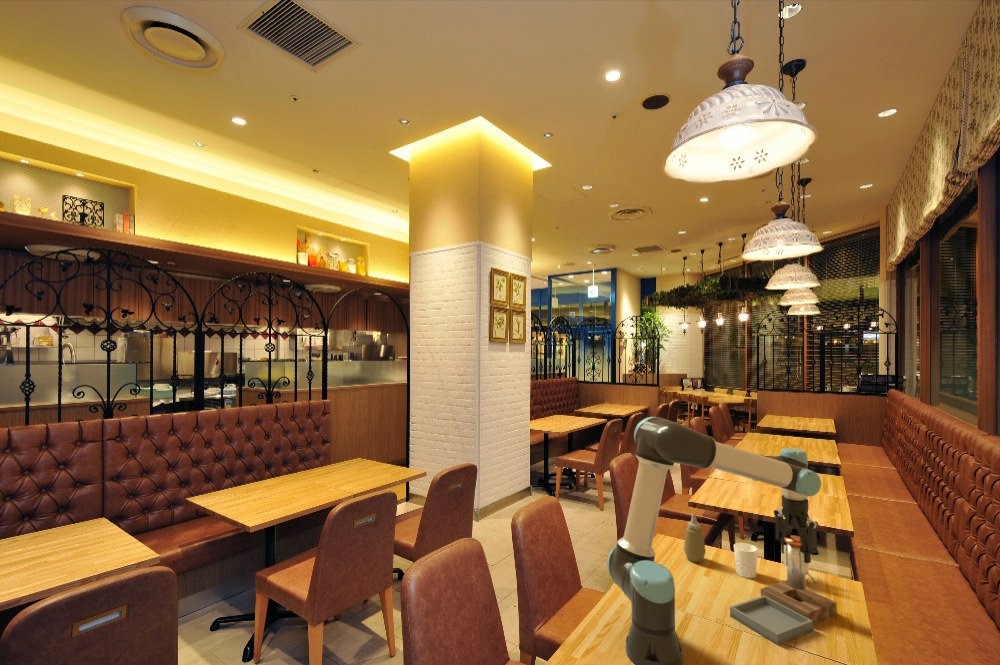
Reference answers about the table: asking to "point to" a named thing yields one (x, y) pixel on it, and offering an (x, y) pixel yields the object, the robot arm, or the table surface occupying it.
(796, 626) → the tray
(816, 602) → the socket block
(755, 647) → the table surface
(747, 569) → the white cup
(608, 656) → the table surface
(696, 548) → the squeeze bottle
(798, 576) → the copper-capped cylinder
